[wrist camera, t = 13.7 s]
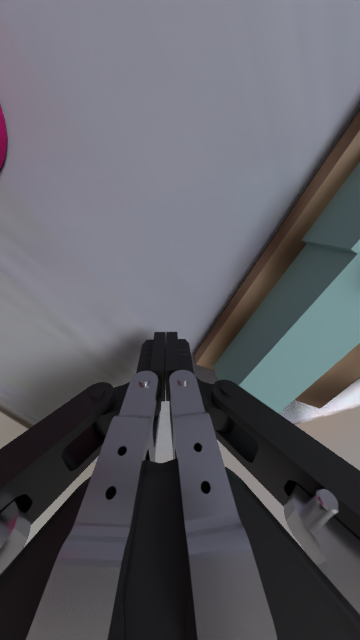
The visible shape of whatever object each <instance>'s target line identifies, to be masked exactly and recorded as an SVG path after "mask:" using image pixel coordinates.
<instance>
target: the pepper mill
mask: <svg viewBox="0 0 360 640" xmlns="http://www.w3.org/2000/svg"><path fill="white" fill-rule="evenodd" d="M6 147H7V133H6V126H5V120H4V116H3V113H2V109H1V106H0V169H1V167H2V165H3V162H4V160H5V155H6Z"/></svg>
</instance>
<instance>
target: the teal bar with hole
mask: <svg viewBox="0 0 360 640" xmlns="http://www.w3.org/2000/svg"><path fill="white" fill-rule="evenodd" d="M301 241H303V242H304V243H306V245H305V247H304V248H303V249H302V251H301V252H300V253H299V254H298V256H297V257H296V258H295V260H294V261H293V262H292V264H291V265H290V266H289V268H288V269H287V270H286V272H285V273H284V274H283V275H282V277H281V278H280V279H279V281H278V282H277V283H276V285H275V286H274V287H273V289H272V290H271V291H270V292H269V294H268V295H267V296H266V298H265V299H264V300H263V302H262V303H261V304H260V306H259V307H258V308H257V310H256V311H255V312H254V313H253V315H252V316H251V317H250V319H249V320H248V321H247V323H246V324H245V325H244V327H243V328H242V329H241V330H240V332H239V333H238V334H237V336H236V337H235V338H234V340H233V341H232V342H231V344H230V345H229V346H228V347H227V349H226V350H225V351H224V353H223V354H222V355H221V357H220V358H219V359H218V361H217V362H216V363H215V365H214V366H213V367H214V370H215V373H216V377H217V380H230V381H232V382H234V383H236V384H237V385H239V386H240V387H241V388H243V389H244V390H246V391H247V392H249V393H250V394H251V395H253V396H254V397H256V398H257V399H258V400H260V401H261V402H263V403H264V404H266V405H267V406H268V407H270V408H271V409H273V410H274V411H276V412H277V413H280V412H281V411H282V410H283V409H284V408H285V407H286V406H288V405H289V404H290V403H291V402H292V401H293V400H295V399H296V398H297V397H298V396H299V395H300V394H301V393H303V392H304V391H305V390H306V389H307V388H308V387H310V386H311V385H312V384H313V383H314V382H315V381H316V380H318V379H319V378H320V377H321V376H322V375H323V374H325V373H326V372H327V371H328V370H329V369H330V368H331V367H333V366H334V365H335V364H336V363H337V362H338V361H340V360H341V359H342V358H343V357H344V356H345V355H346V354H348V353H349V352H350V351H351V350H352V349H353V348H355V347H356V346H357V345H358V344H359V343H360V162H359V163H358V165H357V166H356V167H355V169H354V170H353V172H352V173H351V174H350V176H349V177H348V178H347V180H346V181H345V182H344V184H343V185H342V186H341V188H340V189H339V190H338V192H337V193H336V194H335V196H334V197H333V198H332V200H331V201H330V202H329V204H328V205H327V206H326V208H325V209H324V210H323V212H322V213H321V214H320V216H319V217H318V219H317V220H316V221H315V223H314V224H313V225H312V227H311V228H310V229H309V231H308V232H307V233H306V235H305V236H304V237H303V239H302V240H301Z"/></svg>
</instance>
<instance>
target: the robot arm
mask: <svg viewBox="0 0 360 640" xmlns="http://www.w3.org/2000/svg"><path fill="white" fill-rule="evenodd" d="M165 384H166V401H170V424H171V435H172V447H173V460H171V461H168V462H165V463H156V462H155V452H156V443H157V435H158V428H159V420H160V411H161V401H165ZM217 439H218V440H219V441H220V442H221V443H222V444H223V446H225V447H226V448H227V449H228V451H229V452H230V453H231V454H232V455H233V456H234V457H235V458H237V460H238V461H239V462H240V463H241V464H242V465H243V466H244V467H245V468H246V469H247V470H248V471H249V472H250V473H251V474H252V475H253V476H254V477H255V478H256V479H257V480H258V481H259V482H260V483H261V484H262V485H263V486H264V487H265V488H266V489H267V490H268V491H269V492H270V493H271V494H272V495H273V496H274V497H275V498H276V499H277V500H278V501H279V502H280V503H281V504H282V505H283V506H284V514H285V519H286V522H287V524H288V526H289V528H290V530H291V531H292V534H293V535H294V536H295V538H296V539H297V540H298V542H299V543H300V544H301V546H302V547H303V549H304V550H303V549H302V548H301V547H300V546H299V544H298V543H297V542H296V541H295V540H294V539H293V538H292V537H291V536H290V534H289V533H288V532H287V531H286V530H285V529H284V527H283V526H282V525H281V524H280V523H279V522H278V520H277V519H276V518H275V517H274V516H273V515H272V514H271V512H270V511H269V510H268V509H267V508H266V507H265V506H264V504H262V502H261V501H260V500H259V499H258V498H257V497H256V495H255V494H254V493H253V492H252V491H251V490H250V489H249V488H248V486H247V485H246V484H245V483H244V482H243V481H242V480H241V478H239V477H238V476H237V475H236V474H235V473H234V472H233V471H231V470H230V469H228V468H227V467H225V466H224V463H223V460H222V456H221V453H220V449H219V445H218V442H217ZM98 456H99V457H98ZM97 457H98V459H97V462H96V465H95V468H94V471H93V473H92V476H91V477H89V478H88V479H87V480H86V481H85V482H83V483H82V484H81V485H80V486H79V487H78V488H77V489H76V490H75V491H74V492H73V493H72V495H71V496H70V497H69V498H68V499H67V500H66V501H65V502H64V504H63V505H62V506H61V507H60V508H59V509H58V510H57V511H56V512H55V514H54V515H53V516H52V517H51V518H50V519H49V520H48V521H47V523H46V524H45V525H44V526H43V527H42V528H41V529H40V530H39V532H38V533H37V534H36V535H35V536H34V537H33V538H32V539H31V541H30V542H29V543H28V544H27V545H26V546H25V547H24V545H25V543H26V541H27V539H28V536H29V532H30V526H31V524H32V523H33V522H34V521H35V520H36V519H37V518H38V517H39V516H40V515H41V514H42V513H43V512H44V511H45V510H46V509H47V508H48V507H49V506H50V505H51V504H52V503H53V502H54V501H55V499H57V498H58V497H59V496H60V495H61V494H62V492H64V491H65V489H66V488H67V487H68V486H69V485H70V484H71V483H72V482H73V481H74V480H75V479H76V478H77V477H78V476H79V475H80V474H81V473H82V472H83V471H84V470H85V469H86V468H87V467H88V466H89V465H90V464H91V463H92V462H93V461H94V460H95V459H96V458H97ZM0 640H360V471H359V470H358V469H356V468H355V467H354V466H352V465H351V464H349V463H348V462H346V461H345V460H344V459H342V458H341V457H339V456H338V455H336V454H335V453H334V452H332V451H331V450H329V449H328V448H326V447H325V446H324V445H322V444H321V443H319V442H318V441H317V440H315V439H314V438H312V437H311V436H310V435H308V434H307V433H305V432H304V431H302V430H301V429H299V428H298V427H297V426H295V425H294V424H293V423H291V422H290V421H288V420H287V419H285V418H284V417H283V416H281V415H280V414H278V413H277V412H276V411H274V410H273V409H271V408H270V407H268V406H267V405H266V404H264V403H263V402H261V401H260V400H258V399H257V398H256V397H254V396H253V395H251V394H250V393H249V392H247V391H246V390H244V389H243V388H241V387H240V386H239V385H237V384H236V383H234V382H232V381H230V380H218V381H217V382H215V383H214V385H213V384H209V383H205V382H202V381H200V380H199V379H198V378H197V377H196V376H195V375H194V372H193V366H192V360H191V353H190V347H189V343H188V342H187V341H186V340H185V339H178V337H177V332H155V333H154V340H146V341H145V342H144V343H143V344H142V348H141V353H140V358H139V363H138V367H137V372H136V374H135V375H134V376H133V377H132V378H131V380H130V382H129V383H127V384H125V385H122V386H118V387H115V388H113V387H112V385H111V384H109V383H105V382H101V383H96V384H94V385H92V386H90V387H88V388H87V389H86V390H84V391H83V392H81V393H80V394H78V395H77V396H76V397H74V398H73V399H71V400H70V401H68V402H67V403H66V404H64V405H63V406H61V407H60V408H58V409H57V410H56V411H54V412H53V413H51V414H50V415H48V416H47V417H46V418H44V419H43V420H41V421H40V422H38V423H37V424H36V425H34V426H33V427H31V428H30V429H28V430H27V431H26V432H24V433H23V434H21V435H20V436H18V437H17V438H16V439H14V440H13V441H11V442H10V443H8V444H7V445H6V446H4V447H3V448H1V449H0Z"/></svg>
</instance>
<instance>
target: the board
mask: <svg viewBox="0 0 360 640" xmlns="http://www.w3.org/2000/svg"><path fill="white" fill-rule="evenodd" d="M359 162H360V110H359V111H358V113H357V114H356V116H355V117H354V119H353V120H352V122H351V123H350V125H349V126H348V128H347V129H346V131H345V132H344V134H343V135H342V137H341V138H340V139H339V141H338V142H337V144H336V145H335V147H334V148H333V150H332V151H331V153H330V154H329V156H328V157H327V159H326V160H325V162H324V163H323V165H322V166H321V168H320V169H319V171H318V172H317V174H316V175H315V177H314V178H313V180H312V181H311V183H310V184H309V185H308V187H307V188H306V190H305V191H304V193H303V194H302V196H301V197H300V199H299V200H298V202H297V203H296V205H295V206H294V208H293V209H292V211H291V212H290V214H289V215H288V217H287V218H286V220H285V221H284V223H283V224H282V226H281V227H280V228H279V230H278V231H277V233H276V234H275V236H274V237H273V239H272V240H271V242H270V243H269V245H268V246H267V248H266V249H265V251H264V252H263V254H262V255H261V257H260V258H259V260H258V261H257V263H256V264H255V266H254V267H253V269H252V270H251V271H250V273H249V274H248V276H247V277H246V279H245V280H244V282H243V283H242V285H241V286H240V288H239V289H238V291H237V292H236V294H235V295H234V297H233V298H232V300H231V301H230V303H229V304H228V306H227V307H226V309H225V310H224V312H223V313H222V315H221V316H220V317H219V319H218V320H217V322H216V323H215V325H214V326H213V328H212V329H211V331H210V332H209V334H208V335H207V337H206V338H205V340H204V341H203V343H202V344H201V346H200V347H199V349H198V350H197V352H196V353H195V355H194V357H195V363H196V365H199V366H201V367H204V368H207V369H210V370H213V371H215V370H214V367H213V366H214V365H215V363H216V362H217V361H218V359H219V358H220V357H221V355H222V354H223V353H224V351H225V350H226V349H227V347H228V346H229V345H230V344H231V342H232V341H233V340H234V338H235V337H236V336H237V334H238V333H239V332H240V330H241V329H242V328H243V327H244V325H245V324H246V323H247V321H248V320H249V319H250V317H251V316H252V315H253V313H254V312H255V311H256V310H257V308H258V307H259V306H260V304H261V303H262V302H263V300H264V299H265V298H266V296H267V295H268V294H269V292H270V291H271V290H272V289H273V287H274V286H275V285H276V283H277V282H278V281H279V279H280V278H281V277H282V275H283V274H284V273H285V272H286V270H287V269H288V268H289V266H290V265H291V264H292V262H293V261H294V260H295V258H296V257H297V256H298V254H299V253H300V252H301V251H302V249H303V248H304V247H305V245H306V243H304V242H303V241H301V240H302V239H303V237H304V236H305V235H306V233H307V232H308V231H309V229H310V228H311V227H312V225H313V224H314V223H315V221H316V220H317V219H318V217H319V216H320V214H321V213H322V212H323V210H324V209H325V208H326V206H327V205H328V204H329V202H330V201H331V200H332V198H333V197H334V196H335V194H336V193H337V192H338V190H339V189H340V188H341V186H342V185H343V184H344V182H345V181H346V180H347V178H348V177H349V176H350V174H351V173H352V172H353V170H354V169H355V167H356V166H357V165H358V163H359ZM359 378H360V343H359V344H358V345H357V346H356V347H355V348H353V349H352V350H351V351H350V352H349V353H348V354H346V355H345V356H344V357H343V358H342V359H341V360H340V361H338V362H337V363H336V364H335V365H334V366H333V367H331V368H330V369H329V370H328V371H327V372H326V373H325V374H323V375H322V376H321V377H320V378H319V379H318V380H316V381H315V382H314V383H313V384H312V385H311V386H310V387H308V388H307V389H306V390H305V391H304V392H303V393H301V394H300V395H299V396H298V397H297V398H296V399H295V400H297V401H300V402H303V403H306V404H309V405H311V406H314V407H317V408H321V407H323V406H324V405H325V404H327V403H328V402H329V401H330V400H332V399H333V398H334V397H336V396H337V395H338V394H339V393H341V392H342V391H343V390H345V389H346V388H347V387H348V386H350V385H351V384H352V383H354V382H355V381H356V380H357V379H359Z"/></svg>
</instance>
